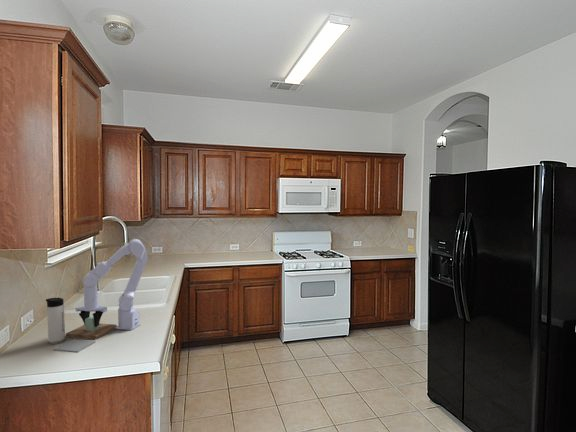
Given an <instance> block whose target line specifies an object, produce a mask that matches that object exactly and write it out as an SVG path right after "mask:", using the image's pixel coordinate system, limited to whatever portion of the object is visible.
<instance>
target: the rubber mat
mask: <svg viewBox="0 0 576 432" xmlns="http://www.w3.org/2000/svg"><path fill="white" fill-rule="evenodd" d="M95 343H96V340H86V339H85V340H84V339H74V338H73V339H69V340H68V341H66V342H64V343H62V344H59V345H58V346H56V347H55V348H53V349H52V350H53V351H59V352H61V351H62V352H69V353H70V352H71V353H72V352H73V353H79V352H81V351H83V350H85V349H86V348H88V347H90V346H92V345H94V344H95Z"/></svg>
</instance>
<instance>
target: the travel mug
mask: <svg viewBox="0 0 576 432" xmlns="http://www.w3.org/2000/svg"><path fill="white" fill-rule="evenodd" d="M45 302H46V314H47V315H46V316H47V318H46V319H47V338H48V340H47V341H48V344H50V345H57V344H60V343H63V342H64V341H66V331H65V328H66V327H65V326H66V325H65V304H64V303H65V302H64V298H62V297H51V298H46V299H45Z"/></svg>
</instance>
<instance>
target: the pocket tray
mask: <svg viewBox="0 0 576 432" xmlns="http://www.w3.org/2000/svg"><path fill="white" fill-rule="evenodd" d="M117 326H118V324H112V323H111V324H110V323H100V322H99V329H97V330H95V331H93V332H92V331H85V325H84V324H83V325H80V326H78V327H77V328H74V329H72V330H70V331H68V332H65V338H78V339H88V340H90V339H92V340H97V339H99V338H101V337H103V336H104V335H106V334H109V333H110V332H112V331H113V330H115V329H114V328H115V327H117Z"/></svg>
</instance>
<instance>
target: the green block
mask: <svg viewBox="0 0 576 432" xmlns="http://www.w3.org/2000/svg"><path fill="white" fill-rule="evenodd" d="M97 329H99V326H97V327H95V324H94V317H93V315H91V316H89V317H88V318H86V319H85V331H92V332H93V331H95V330H97Z"/></svg>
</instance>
